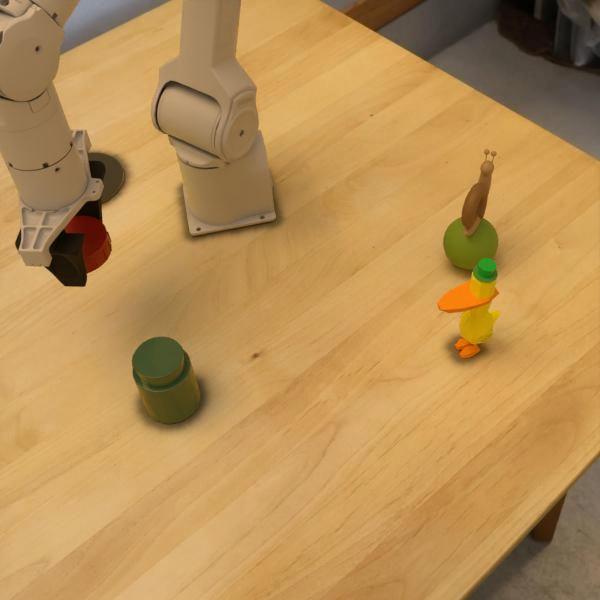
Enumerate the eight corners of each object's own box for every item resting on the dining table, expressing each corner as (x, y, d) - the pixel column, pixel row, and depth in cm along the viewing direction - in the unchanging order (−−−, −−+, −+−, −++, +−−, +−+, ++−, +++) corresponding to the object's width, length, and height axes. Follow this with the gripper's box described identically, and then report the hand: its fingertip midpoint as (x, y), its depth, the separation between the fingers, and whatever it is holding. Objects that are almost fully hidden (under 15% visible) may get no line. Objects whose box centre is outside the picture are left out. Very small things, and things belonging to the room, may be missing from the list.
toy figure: (442, 375, 79) (451, 295, 70) (425, 347, 81) (431, 265, 72) (506, 351, 81) (524, 268, 71) (487, 323, 83) (502, 240, 73)
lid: (36, 259, 78) (30, 246, 77) (80, 220, 81) (74, 206, 79) (81, 285, 76) (75, 271, 74) (125, 244, 78) (120, 230, 77)
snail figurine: (504, 242, 89) (519, 155, 80) (486, 286, 85) (499, 201, 76) (454, 228, 91) (463, 142, 81) (434, 271, 87) (441, 186, 78)
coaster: (121, 149, 102) (120, 146, 102) (126, 201, 97) (125, 198, 96) (46, 163, 102) (45, 159, 101) (47, 216, 96) (45, 212, 96)
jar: (196, 371, 82) (183, 326, 76) (204, 416, 78) (191, 374, 73) (142, 383, 81) (125, 339, 76) (148, 429, 78) (131, 387, 72)
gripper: (62, 212, 63) (107, 322, 74) (107, 88, 72) (141, 202, 83) (-28, 211, 64) (29, 319, 75) (27, 88, 73) (71, 201, 84)
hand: (83, 258), depth 79 cm, fingers closed on lid, 5 cm apart
